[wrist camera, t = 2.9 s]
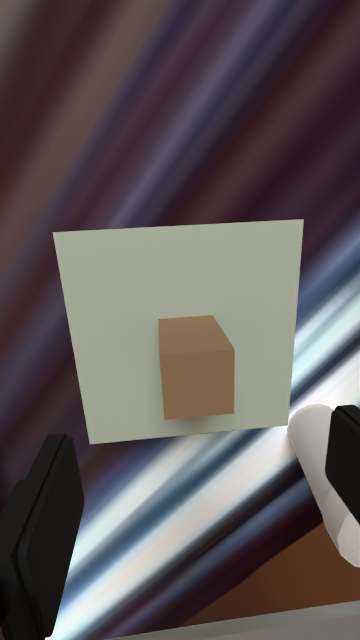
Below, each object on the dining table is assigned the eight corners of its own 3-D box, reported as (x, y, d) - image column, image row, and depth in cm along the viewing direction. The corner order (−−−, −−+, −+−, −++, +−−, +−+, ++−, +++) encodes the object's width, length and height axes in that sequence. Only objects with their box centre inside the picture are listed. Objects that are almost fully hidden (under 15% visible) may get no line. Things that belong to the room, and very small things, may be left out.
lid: (287, 219, 20) (366, 216, 12) (276, 407, 24) (328, 487, 17) (64, 231, 19) (5, 236, 11) (95, 424, 23) (68, 515, 16)
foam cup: (353, 443, 38) (450, 550, 25) (284, 465, 38) (346, 582, 25) (343, 382, 35) (447, 468, 22) (268, 406, 35) (330, 506, 22)
